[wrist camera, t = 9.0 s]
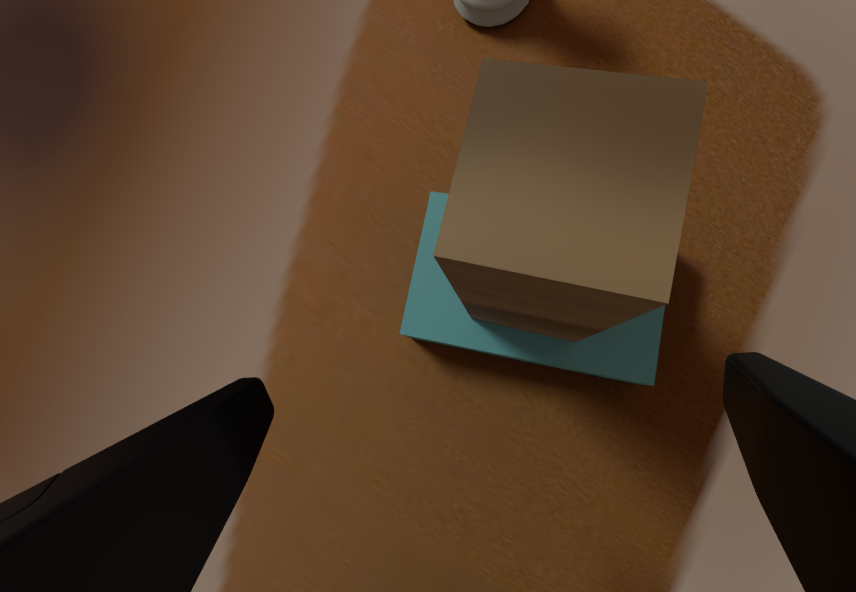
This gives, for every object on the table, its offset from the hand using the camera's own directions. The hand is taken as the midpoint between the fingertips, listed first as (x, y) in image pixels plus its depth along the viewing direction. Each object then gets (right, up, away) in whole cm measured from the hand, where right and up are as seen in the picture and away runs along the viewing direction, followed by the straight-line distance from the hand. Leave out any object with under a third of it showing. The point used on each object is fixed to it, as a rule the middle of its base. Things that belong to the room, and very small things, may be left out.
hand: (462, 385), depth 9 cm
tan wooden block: (+4, +2, +11) cm, 12 cm away
